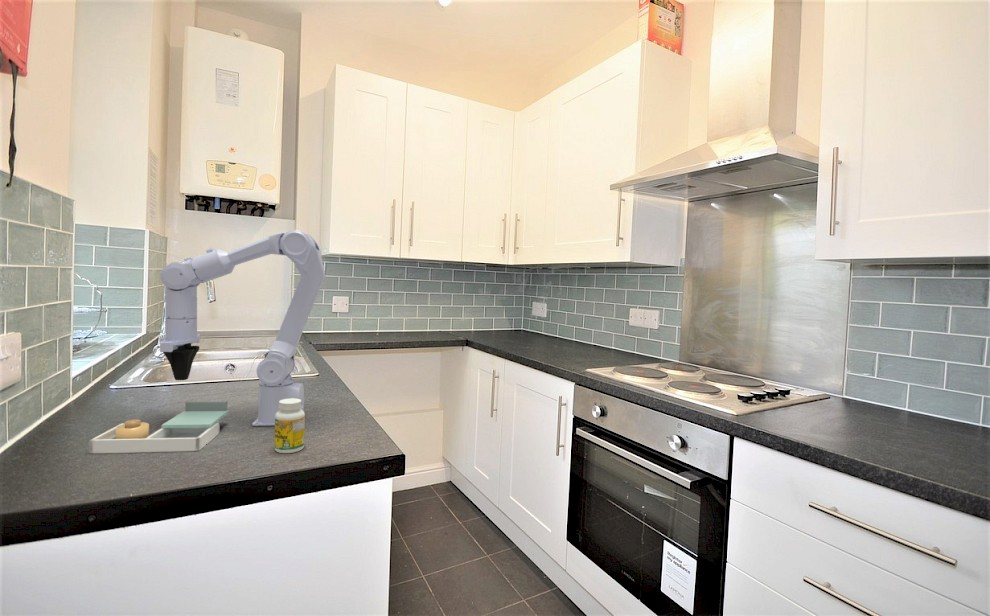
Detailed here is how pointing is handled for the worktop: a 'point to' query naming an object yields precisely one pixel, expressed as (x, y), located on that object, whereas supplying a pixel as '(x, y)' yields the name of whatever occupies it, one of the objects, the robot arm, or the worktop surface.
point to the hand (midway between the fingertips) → (181, 379)
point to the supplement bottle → (289, 426)
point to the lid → (198, 414)
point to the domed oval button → (132, 430)
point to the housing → (156, 440)
